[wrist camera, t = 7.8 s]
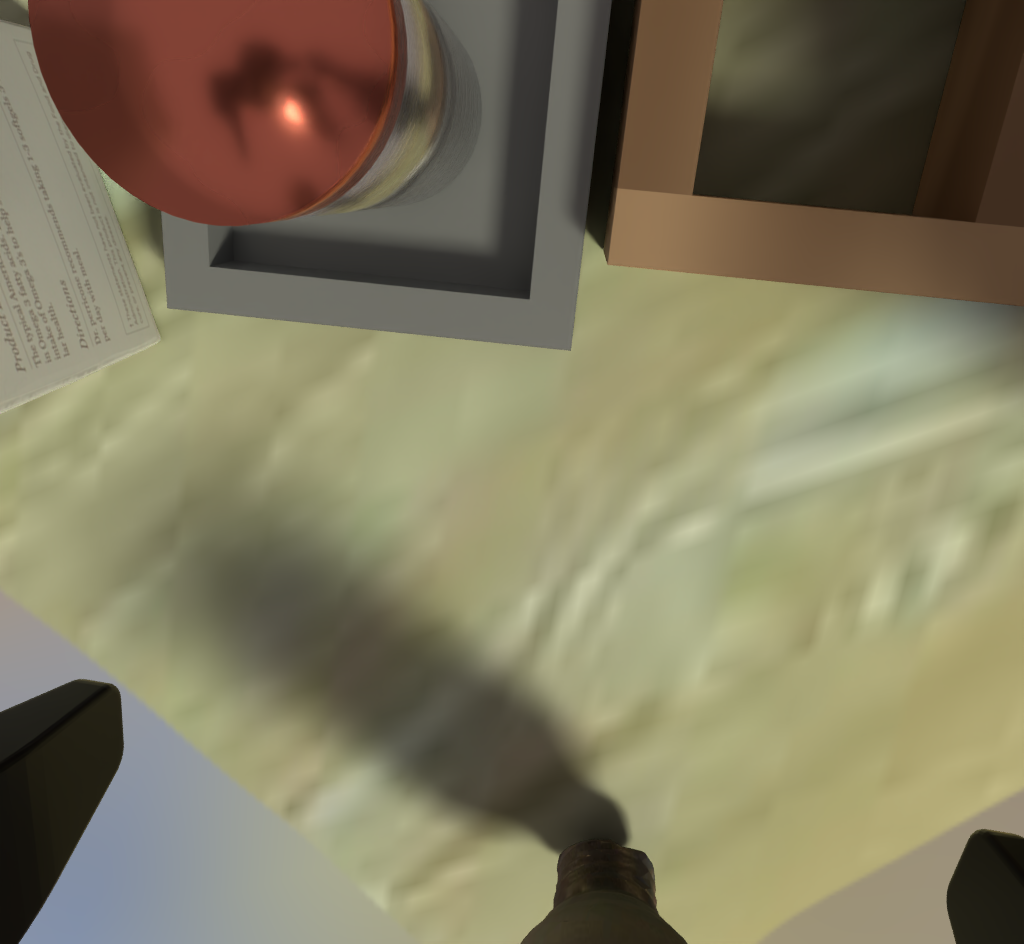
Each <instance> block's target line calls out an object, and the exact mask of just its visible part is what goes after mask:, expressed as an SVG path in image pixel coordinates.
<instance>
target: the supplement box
mask: <svg viewBox="0 0 1024 944" xmlns="http://www.w3.org/2000/svg"><path fill="white" fill-rule="evenodd" d="M160 340H161V338H160V334H159V331H158V328H157V326H156V323H155V320H154V318H153V315H152V313H151V310H150V307H149V304H148V301H147V299H146V296H145V293H144V290H143V287H142V285H141V282H140V279H139V277H138V274H137V271H136V268H135V266H134V263H133V260H132V258H131V255H130V252H129V250H128V247H127V244H126V242H125V239H124V236H123V233H122V231H121V228H120V225H119V223H118V220H117V217H116V214H115V212H114V209H113V206H112V204H111V201H110V198H109V195H108V193H107V190H106V187H105V185H104V182H103V179H102V176H101V174H100V171H99V168H98V166H97V164H96V163H95V162H93V160H92V159H91V158H90V157H89V155H88V154H87V153H86V152H85V151H84V149H83V148H82V147H81V146H80V145H79V143H78V142H77V141H76V139H75V138H74V136H73V135H72V133H71V132H70V130H69V129H68V127H67V126H66V124H65V123H64V121H63V119H62V118H61V116H60V114H59V112H58V110H57V108H56V106H55V104H54V102H53V100H52V98H51V96H50V94H49V91H48V89H47V86H46V84H45V81H44V79H43V76H42V74H41V71H40V67H39V64H38V60H37V56H36V53H35V49H34V46H33V40H32V34H31V28H30V27H28V26H24V25H21V24H17V23H13V22H9V21H5V20H1V19H0V414H1V413H3V412H6V411H8V410H11V409H13V408H15V407H18V406H20V405H22V404H25V403H27V402H29V401H31V400H34V399H36V398H38V397H41V396H43V395H45V394H47V393H50V392H52V391H54V390H57V389H59V388H61V387H64V386H66V385H68V384H71V383H73V382H75V381H78V380H80V379H82V378H84V377H86V376H88V375H90V374H93V373H95V372H97V371H99V370H101V369H103V368H105V367H107V366H109V365H112V364H114V363H116V362H118V361H121V360H123V359H125V358H127V357H130V356H132V355H134V354H136V353H139V352H141V351H143V350H145V349H147V348H149V347H151V346H152V345H154V344H156V343H158V342H159V341H160Z"/></svg>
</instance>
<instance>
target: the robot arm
mask: <svg viewBox="0 0 1024 944" xmlns="http://www.w3.org/2000/svg"><path fill="white" fill-rule="evenodd" d="M123 748H124V741H123V725H122V708H121V696H120V692H119V690H118V688H117V687H116V686H114V685H113V684H110V683H104V682H97V681H92V680H86V679H78V680H74V681H71V682H69V683H66V684H64V685H62V686H60V687H57V688H55V689H53V690H50V691H48V692H46V693H43V694H41V695H39V696H37V697H34V698H32V699H29V700H27V701H25V702H23V703H20V704H18V705H16V706H13V707H11V708H9V709H6V710H4V711H2V712H0V944H19V942H20V941H21V939H22V938H23V936H24V934H25V933H26V932H27V930H28V929H29V927H30V925H31V924H32V922H33V921H34V919H35V918H36V916H37V915H38V913H39V911H40V910H41V908H42V907H43V905H44V903H45V901H46V900H47V898H48V897H49V895H50V893H51V891H52V890H53V888H54V886H55V884H56V883H57V881H58V879H59V877H60V875H61V873H62V871H63V870H64V868H65V866H66V864H67V862H68V861H69V859H70V857H71V855H72V853H73V851H74V849H75V848H76V846H77V844H78V842H79V840H80V838H81V837H82V835H83V833H84V830H85V829H86V827H87V825H88V824H89V822H90V820H91V818H92V816H93V814H94V813H95V811H96V809H97V807H98V805H99V803H100V802H101V799H102V798H103V796H104V794H105V792H106V790H107V788H108V787H109V785H110V783H111V781H112V779H113V777H114V776H115V774H116V772H117V770H118V768H119V765H120V762H121V759H122V756H123ZM947 910H948V914H949V919H950V922H951V926H952V930H953V934H954V937H955V941H956V944H1024V838H1023V837H1021V836H1019V835H1016V834H1012V833H1005V832H1000V831H994V830H987V829H981V830H977V831H975V832H974V833H973V834H972V835H971V836H970V838H969V840H968V842H967V844H966V846H965V848H964V851H963V853H962V855H961V858H960V860H959V862H958V865H957V867H956V869H955V871H954V874H953V876H952V878H951V881H950V883H949V886H948V890H947Z"/></svg>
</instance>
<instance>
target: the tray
mask: <svg viewBox="0 0 1024 944" xmlns="http://www.w3.org/2000/svg"><path fill="white" fill-rule="evenodd" d="M427 1H428V2H429V3H430V4H431V6H432V7H433V8H434V9H435V10H436V12H437V13H438V14H439V15H440V17H441V18H442V19H443V20H444V22H445V23H446V24H447V25H448V26H449V28H450V29H451V30H452V31H453V33H454V34H455V35H456V36H457V38H458V39H459V40H460V42H461V43H462V45H463V46H464V48H465V49H466V51H467V53H468V55H469V56H470V58H471V60H472V62H473V65H474V68H475V71H476V73H477V76H478V81H479V85H480V90H481V98H482V119H481V127H480V132H479V136H478V140H477V143H476V145H475V148H474V151H473V153H472V155H471V157H470V159H469V161H468V163H467V164H466V166H465V167H464V169H463V170H462V171H461V173H460V174H459V175H458V176H457V177H456V178H455V180H454V181H453V182H452V183H451V184H449V185H448V186H447V187H446V188H445V189H443V190H442V191H441V192H439V193H437V194H436V195H434V196H432V197H430V198H428V199H425V200H423V201H421V202H417V203H413V204H409V205H401V206H393V207H385V208H378V209H370V210H362V211H354V212H346V213H338V214H330V215H323V216H315V217H307V218H299V219H291V220H283V221H275V222H268V223H260V224H251V225H243V226H215V225H209V224H202V223H196V222H192V221H189V220H185V219H182V218H179V217H175V216H172V215H170V214H168V213H165V212H163V211H161V216H162V231H163V247H164V263H165V278H166V294H167V308H170V309H180V310H189V311H199V312H208V313H218V314H227V315H237V316H246V317H256V318H265V319H275V320H284V321H294V322H303V323H313V324H322V325H332V326H341V327H351V328H360V329H370V330H379V331H389V332H398V333H408V334H417V335H427V336H436V337H446V338H455V339H465V340H474V341H484V342H493V343H503V344H512V345H522V346H531V347H541V348H550V349H560V350H569V351H571V345H572V336H573V328H574V319H575V311H576V302H577V294H578V285H579V277H580V268H581V259H582V251H583V242H584V234H585V225H586V217H587V208H588V200H589V191H590V182H591V174H592V165H593V157H594V148H595V140H596V131H597V123H598V114H599V106H600V97H601V88H602V80H603V71H604V63H605V54H606V46H607V37H608V29H609V20H610V11H611V3H612V0H427Z"/></svg>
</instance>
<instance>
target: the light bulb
mask: <svg viewBox="0 0 1024 944" xmlns="http://www.w3.org/2000/svg"><path fill="white" fill-rule="evenodd" d="M557 872H558V882H557V885H556V892H555V896H554V908H553V910H552V911H550V913H549V914H548V915H547V916H546V918H545V919H544V920H543V921H542V922H541V923H539V924H538V925H537V926H536V927H535V928H533V929H532V930H531V931H530V932H529V934H528V935H527V936H526V937H525V938H524V939H523V941H522V942H521V944H687V942H686V941H685V940H684V938H683V937H682V936H680V935H679V934H678V933H677V932H676V931H675V930H674V929H673V928H672V927H671V926H670V925H669V924H668V923H666V922H665V921H664V920H663V919H662V918H661V917H660V916H659V914H658V911H657V909H656V904H657V900H656V897H655V891H656V888H655V875H654V868H653V865H652V863H651V861H650V860H649V858H648V857H647V855H646V854H645V853H644V852H642V851H639V850H635V849H631V848H626V847H621V846H619V845H618V844H616V843H615V842H613V841H612V840H586V841H582V842H579V843H577V844H574V845H572V846H570V847H569V848H567V849H566V850H564V851H563V852H562V853H561V854H560V856H559V860H558V864H557Z"/></svg>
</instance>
